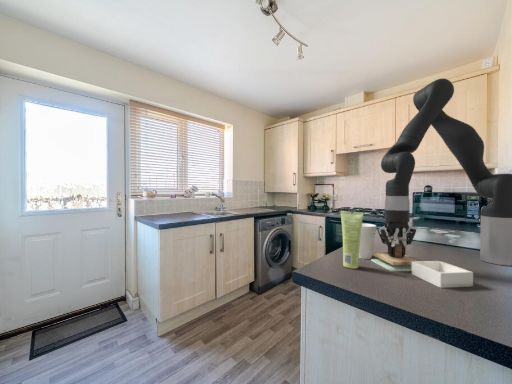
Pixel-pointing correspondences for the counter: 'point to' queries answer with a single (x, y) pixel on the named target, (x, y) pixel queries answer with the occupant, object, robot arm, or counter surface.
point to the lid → (396, 257)
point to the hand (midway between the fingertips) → (396, 256)
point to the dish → (442, 274)
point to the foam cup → (367, 240)
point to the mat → (392, 267)
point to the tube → (351, 237)
